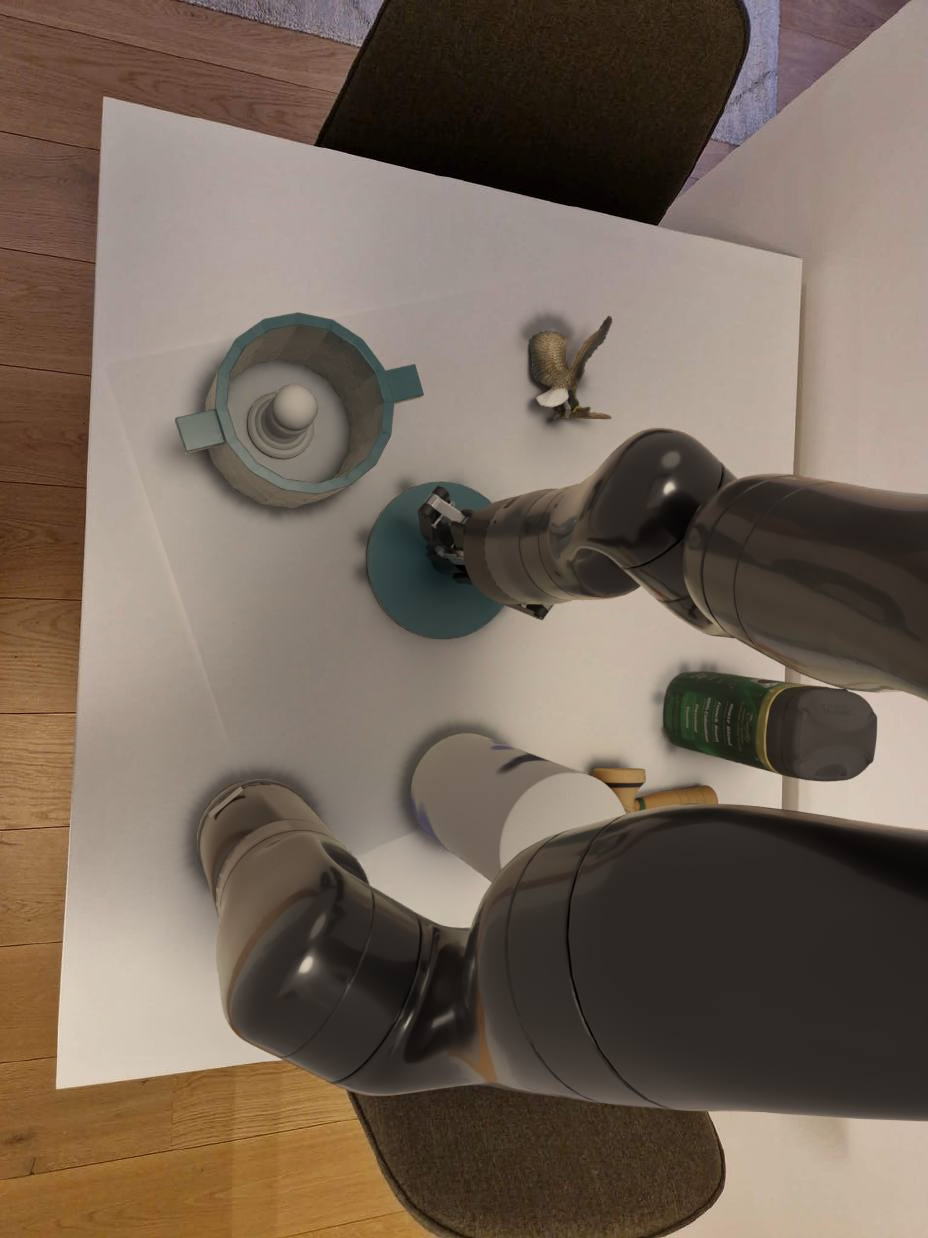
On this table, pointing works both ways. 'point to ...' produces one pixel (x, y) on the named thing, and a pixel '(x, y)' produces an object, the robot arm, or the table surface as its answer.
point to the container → (501, 799)
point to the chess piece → (283, 421)
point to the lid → (424, 570)
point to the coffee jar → (772, 724)
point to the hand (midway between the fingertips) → (448, 560)
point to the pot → (332, 358)
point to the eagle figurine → (564, 370)
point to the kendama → (632, 779)
